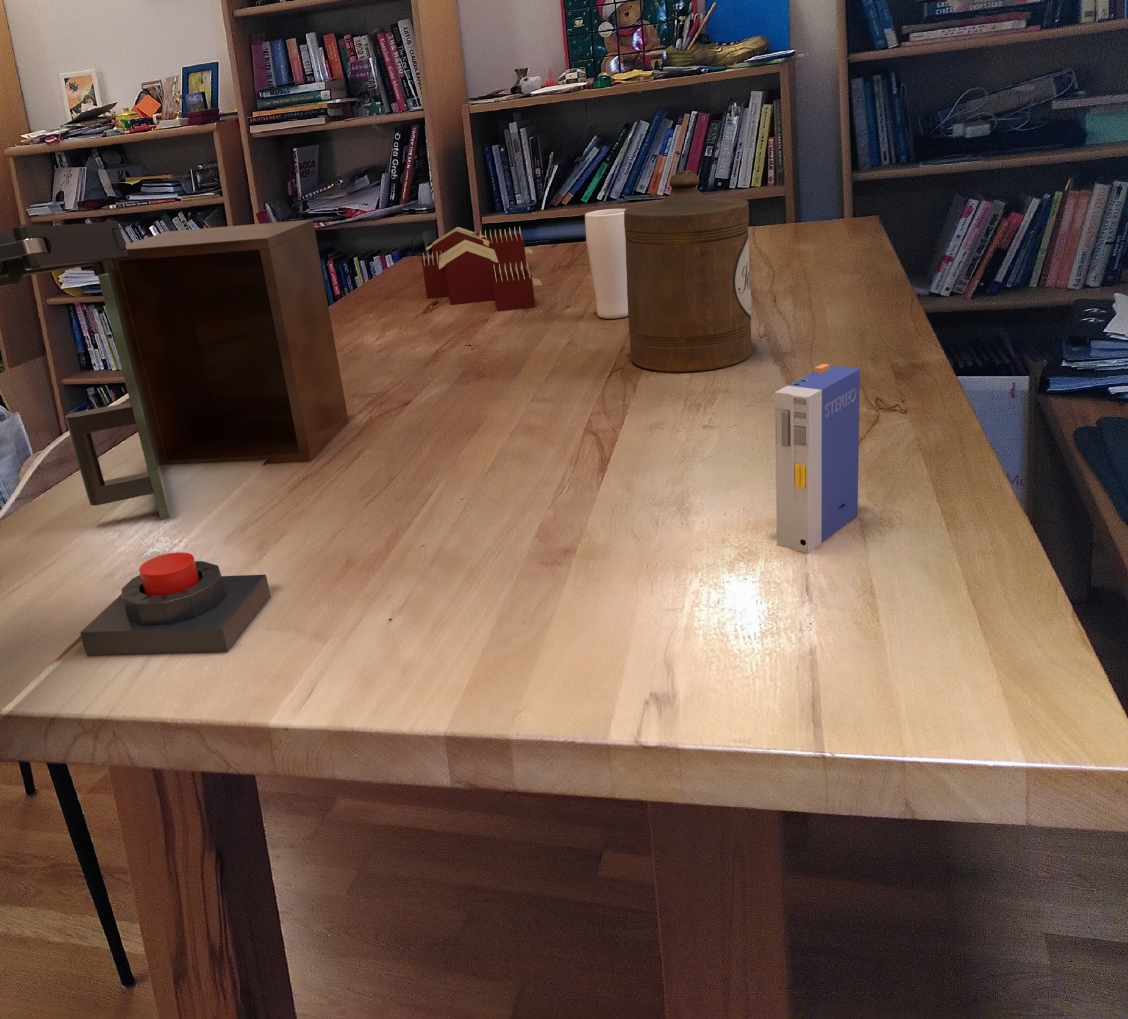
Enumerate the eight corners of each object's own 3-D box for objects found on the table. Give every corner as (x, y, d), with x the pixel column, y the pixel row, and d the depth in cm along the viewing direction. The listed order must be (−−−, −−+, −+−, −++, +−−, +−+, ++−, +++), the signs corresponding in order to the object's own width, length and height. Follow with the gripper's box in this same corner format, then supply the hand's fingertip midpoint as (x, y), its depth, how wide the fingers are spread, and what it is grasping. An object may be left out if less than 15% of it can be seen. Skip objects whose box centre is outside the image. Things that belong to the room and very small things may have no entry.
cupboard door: (97, 538, 90) (25, 285, 82) (96, 483, 104) (35, 262, 95) (171, 522, 92) (108, 273, 84) (160, 470, 106) (106, 253, 97)
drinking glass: (647, 314, 154) (640, 209, 148) (610, 323, 151) (602, 216, 145) (619, 308, 159) (612, 207, 154) (583, 317, 156) (574, 214, 150)
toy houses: (428, 274, 206) (421, 222, 202) (531, 263, 207) (526, 211, 203) (425, 320, 164) (416, 255, 161) (554, 306, 166) (548, 241, 162)
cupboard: (310, 462, 104) (267, 237, 96) (160, 470, 106) (104, 251, 98) (348, 422, 116) (313, 219, 108) (212, 430, 118) (167, 231, 110)
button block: (86, 657, 70) (72, 611, 69) (142, 601, 77) (131, 559, 76) (227, 653, 69) (216, 606, 67) (271, 597, 76) (261, 553, 75)
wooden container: (774, 358, 125) (772, 165, 116) (662, 380, 120) (650, 181, 112) (716, 336, 138) (709, 161, 129) (612, 354, 133) (599, 175, 125)
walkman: (824, 509, 82) (825, 360, 77) (858, 516, 80) (860, 363, 75) (773, 546, 76) (771, 388, 72) (807, 554, 75) (807, 392, 70)
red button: (135, 599, 70) (129, 575, 70) (159, 575, 74) (154, 553, 73) (185, 597, 70) (179, 574, 69) (208, 573, 73) (202, 551, 73)
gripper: (-320, 385, 58) (-137, 359, 79) (129, 285, 61) (193, 284, 82) (-378, 250, 57) (-176, 259, 77) (87, 153, 59) (163, 187, 80)
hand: (14, 272), depth 79 cm, fingers open, 13 cm apart
